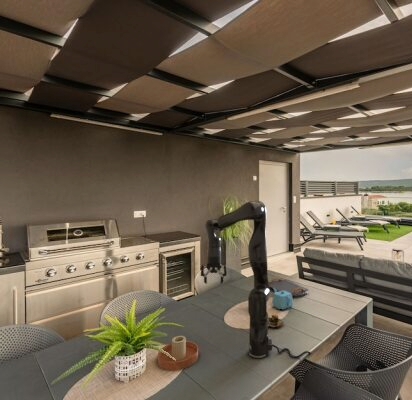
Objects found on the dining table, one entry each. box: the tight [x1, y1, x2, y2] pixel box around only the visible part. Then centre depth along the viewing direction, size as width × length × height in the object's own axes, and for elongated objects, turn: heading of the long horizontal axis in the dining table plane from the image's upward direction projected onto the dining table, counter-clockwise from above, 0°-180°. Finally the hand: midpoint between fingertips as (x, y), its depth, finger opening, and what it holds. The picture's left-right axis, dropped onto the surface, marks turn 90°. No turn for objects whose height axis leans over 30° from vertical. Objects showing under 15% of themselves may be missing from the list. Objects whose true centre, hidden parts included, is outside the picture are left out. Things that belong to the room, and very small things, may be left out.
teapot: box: [271, 288, 294, 311], centre depth 194 cm, size 12×18×12 cm
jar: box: [171, 335, 187, 361], centre depth 131 cm, size 6×6×8 cm
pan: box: [157, 340, 200, 371], centre depth 131 cm, size 18×18×4 cm
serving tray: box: [268, 277, 310, 297], centre depth 228 cm, size 39×23×6 cm, turn 34°
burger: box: [268, 311, 284, 329], centre depth 166 cm, size 12×12×8 cm
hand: (213, 283), depth 155 cm, fingers open, 8 cm apart
